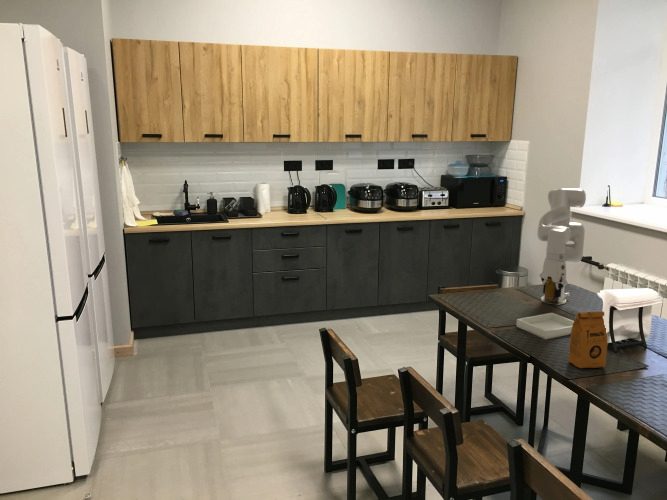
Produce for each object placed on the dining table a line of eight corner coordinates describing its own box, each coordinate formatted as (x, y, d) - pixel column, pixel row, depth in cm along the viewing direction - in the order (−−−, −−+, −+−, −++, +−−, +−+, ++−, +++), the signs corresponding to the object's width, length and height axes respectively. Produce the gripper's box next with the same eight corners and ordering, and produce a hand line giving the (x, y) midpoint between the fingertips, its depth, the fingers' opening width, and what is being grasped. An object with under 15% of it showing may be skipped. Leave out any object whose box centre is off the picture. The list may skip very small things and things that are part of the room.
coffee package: (608, 370, 217) (615, 315, 213) (577, 371, 216) (583, 316, 212) (595, 359, 227) (600, 307, 222) (565, 360, 226) (570, 307, 221)
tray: (551, 319, 273) (552, 312, 272) (582, 331, 257) (582, 324, 257) (516, 326, 264) (516, 319, 263) (545, 339, 248) (546, 331, 247)
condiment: (548, 298, 262) (550, 273, 260) (565, 302, 256) (568, 276, 253) (539, 301, 258) (542, 275, 255) (557, 305, 251) (559, 279, 249)
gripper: (576, 259, 247) (573, 299, 251) (546, 251, 262) (543, 289, 266) (564, 261, 244) (560, 301, 248) (534, 253, 259) (531, 291, 263)
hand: (551, 294), depth 257 cm, fingers closed on condiment, 6 cm apart
